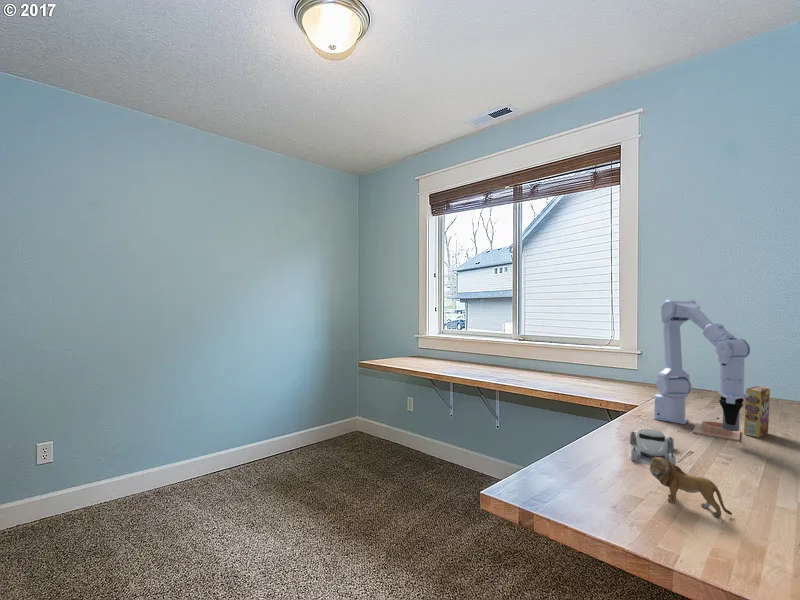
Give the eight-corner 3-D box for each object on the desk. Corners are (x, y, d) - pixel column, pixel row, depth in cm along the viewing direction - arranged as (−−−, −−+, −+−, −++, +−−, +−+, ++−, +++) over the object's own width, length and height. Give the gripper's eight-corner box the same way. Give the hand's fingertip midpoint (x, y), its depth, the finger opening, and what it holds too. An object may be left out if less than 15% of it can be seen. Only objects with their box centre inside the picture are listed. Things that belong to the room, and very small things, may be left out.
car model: (629, 462, 113) (629, 444, 113) (630, 436, 134) (630, 421, 134) (678, 471, 107) (678, 452, 107) (671, 443, 128) (671, 427, 128)
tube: (722, 429, 127) (722, 406, 127) (722, 426, 130) (723, 403, 130) (739, 432, 124) (739, 408, 124) (739, 428, 127) (739, 406, 127)
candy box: (760, 438, 132) (761, 391, 132) (743, 434, 136) (744, 388, 136) (769, 433, 137) (770, 387, 137) (753, 430, 141) (754, 385, 141)
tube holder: (692, 432, 137) (692, 425, 137) (696, 424, 146) (696, 417, 146) (739, 441, 129) (739, 433, 129) (740, 432, 139) (740, 424, 139)
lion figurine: (647, 499, 92) (648, 458, 92) (651, 490, 96) (651, 451, 96) (732, 522, 83) (733, 477, 83) (732, 511, 87) (733, 468, 87)
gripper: (748, 384, 119) (747, 431, 119) (749, 376, 130) (748, 420, 130) (717, 380, 123) (716, 426, 123) (720, 373, 134) (719, 415, 134)
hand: (730, 422), depth 127 cm, fingers closed on tube, 4 cm apart
